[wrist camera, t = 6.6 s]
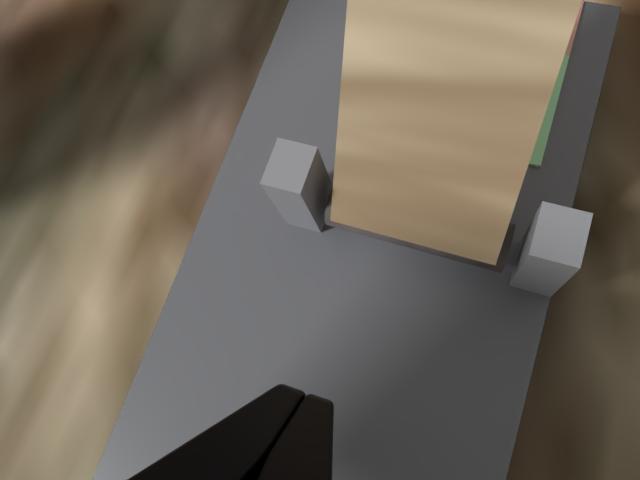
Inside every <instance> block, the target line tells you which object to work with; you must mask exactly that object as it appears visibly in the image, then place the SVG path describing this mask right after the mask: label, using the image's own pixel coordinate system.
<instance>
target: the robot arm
mask: <svg viewBox="0 0 640 480" xmlns="http://www.w3.org/2000/svg"><path fill="white" fill-rule="evenodd" d="M333 424H334V404H333V402H332V401H331V400H328V399H325V398H322V397H320V396H317V395H314V394H307V395H306V394H305V392H304V391H302V390H299V389H296V388H294V387H291V386H288V385H285V384H279V385H276V386H275V387H273V388H271V389H270V390H268V391H267V392H265V393H263V394H262V395H260V396H259V397H257V398H256V399H254V400H252V401H251V402H249V403H248V404H246V405H244V406H243V407H241V408H240V409H238V410H237V411H235V412H233V413H232V414H230V415H229V416H227V417H225V418H224V419H222V420H221V421H219V422H218V423H216V424H214V425H213V426H211V427H210V428H208V429H206V430H205V431H203V432H202V433H200V434H199V435H197V436H195V437H194V438H192V439H191V440H189V441H187V442H186V443H184V444H183V445H181V446H180V447H178V448H176V449H175V450H173V451H172V452H170V453H168V454H167V455H165V456H164V457H162V458H161V459H159V460H157V461H156V462H154V463H153V464H151V465H149V466H148V467H146V468H145V469H143V470H142V471H140V472H138V473H137V474H135V475H134V476H132V477H130V478H129V479H127V480H332V464H333Z"/></svg>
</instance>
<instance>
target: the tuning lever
mask: <svg viewBox="0 0 640 480" xmlns="http://www.w3.org/2000/svg"><path fill="white" fill-rule="evenodd" d="M581 3H582V0H347V11H346V23H345V36H344V49H343V62H342V75H341V88H340V101H339V114H338V126H337V139H336V152H335V165H334V178H333V186H332V188H331V191H330V193H329V196H328V200H327V204H326V209H325V224H326V225H329V226H332V227H336V228H340V229H343V230H347V231H351V232H354V233H358V234H361V235H365V236H369V237H372V238H376V239H379V240H383V241H387V242H390V243H394V244H398V245H401V246H405V247H408V248H412V249H416V250H419V251H423V252H427V253H430V254H434V255H437V256H441V257H445V258H448V259H452V260H456V261H459V262H463V263H466V264H470V265H474V266H477V267H481V268H484V269H488V270H492V271H495V272H499V273H502V271H503V269H504V266H505V263H506V260H507V257H508V254H509V250H510V247H511V243H512V240H513V236H514V231H515V226H516V224H513V223H510V220H511V217H512V214H513V210H514V207H515V204H516V201H517V198H518V195H519V192H520V189H521V186H522V183H523V180H524V177H525V174H526V171H527V168H528V165H529V162H530V159H531V156H532V152H533V149H534V146H535V143H536V140H537V137H538V134H539V131H540V128H541V125H542V122H543V119H544V116H545V113H546V110H547V107H548V104H549V101H550V98H551V94H552V91H553V88H554V85H555V82H556V79H557V76H558V73H559V70H560V67H561V64H562V61H563V58H564V55H565V52H566V49H567V46H568V43H569V40H570V36H571V33H572V30H573V27H574V24H575V21H576V18H577V15H578V12H579V9H580V6H581Z"/></svg>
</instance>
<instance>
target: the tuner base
mask: <svg viewBox="0 0 640 480" xmlns="http://www.w3.org/2000/svg"><path fill="white" fill-rule="evenodd" d="M620 10H621V7H618V6H611V5H605V4H598V3H592V2H585V1H584V0H582V3H581V6H580V9H579V12H578V15H577V18H576V21H575V24H574V27H573V30H572V33H571V36H570V40H569V43H568V46H567V49H566V52H565V55H564V58H563V61H562V64H561V67H560V70H559V73H558V76H557V79H556V82H555V85H554V88H553V91H552V94H551V98H550V101H549V104H548V107H547V110H546V113H545V116H544V119H543V122H542V125H541V128H540V131H539V134H538V137H537V140H536V143H535V146H534V149H533V152H532V156H531V159H530V162H529V165H528V168H527V171H526V174H525V177H524V180H523V183H522V186H521V189H520V192H519V195H518V198H517V201H516V204H515V207H514V210H513V214H512V217H511V220H510V223H513V224H516V226H515V231H514V236H513V240H512V243H511V247H510V250H509V254H508V257H507V260H506V263H505V266H504V269H503V271H502V273H499V272H495V271H492V270H488V269H484V268H481V267H477V266H474V265H470V264H466V263H463V262H459V261H456V260H452V259H448V258H445V257H441V256H437V255H434V254H430V253H427V252H423V251H419V250H416V249H412V248H408V247H405V246H401V245H398V244H394V243H390V242H387V241H383V240H379V239H376V238H372V237H369V236H365V235H361V234H358V233H354V232H351V231H347V230H343V229H340V228H336V227H332V226H329V225H326V224H325V209H326V204H327V200H328V196H329V193H330V191H331V188H332V186H333V178H334V165H335V152H336V139H337V126H338V114H339V101H340V88H341V75H342V62H343V49H344V36H345V23H346V11H347V0H289V2H288V4H287V7H286V9H285V11H284V14H283V16H282V19H281V21H280V24H279V26H278V28H277V31H276V33H275V36H274V38H273V41H272V43H271V46H270V48H269V50H268V53H267V55H266V58H265V60H264V63H263V65H262V68H261V70H260V72H259V75H258V77H257V80H256V82H255V85H254V87H253V89H252V92H251V94H250V97H249V99H248V102H247V104H246V107H245V109H244V111H243V114H242V116H241V119H240V121H239V124H238V126H237V128H236V131H235V133H234V136H233V138H232V141H231V143H230V146H229V148H228V150H227V153H226V155H225V158H224V160H223V163H222V165H221V168H220V170H219V172H218V175H217V177H216V180H215V182H214V185H213V187H212V189H211V192H210V194H209V197H208V199H207V202H206V204H205V207H204V209H203V211H202V214H201V216H200V219H199V221H198V224H197V226H196V229H195V231H194V233H193V236H192V238H191V241H190V243H189V246H188V248H187V250H186V253H185V255H184V258H183V260H182V263H181V265H180V268H179V270H178V272H177V275H176V277H175V280H174V282H173V285H172V287H171V290H170V292H169V294H168V297H167V299H166V302H165V304H164V307H163V309H162V311H161V314H160V316H159V319H158V321H157V324H156V326H155V329H154V331H153V333H152V336H151V338H150V341H149V343H148V346H147V348H146V350H145V353H144V355H143V358H142V360H141V363H140V365H139V368H138V370H137V372H136V375H135V377H134V380H133V382H132V385H131V387H130V390H129V392H128V394H127V397H126V399H125V402H124V404H123V407H122V409H121V411H120V414H119V416H118V419H117V421H116V424H115V426H114V429H113V431H112V433H111V436H110V438H109V441H108V443H107V446H106V448H105V451H104V453H103V455H102V458H101V460H100V463H99V465H98V468H97V470H96V472H95V475H94V477H93V480H127V479H129V478H130V477H132V476H134V475H135V474H137V473H138V472H140V471H142V470H143V469H145V468H146V467H148V466H149V465H151V464H153V463H154V462H156V461H157V460H159V459H161V458H162V457H164V456H165V455H167V454H168V453H170V452H172V451H173V450H175V449H176V448H178V447H180V446H181V445H183V444H184V443H186V442H187V441H189V440H191V439H192V438H194V437H195V436H197V435H199V434H200V433H202V432H203V431H205V430H206V429H208V428H210V427H211V426H213V425H214V424H216V423H218V422H219V421H221V420H222V419H224V418H225V417H227V416H229V415H230V414H232V413H233V412H235V411H237V410H238V409H240V408H241V407H243V406H244V405H246V404H248V403H249V402H251V401H252V400H254V399H256V398H257V397H259V396H260V395H262V394H263V393H265V392H267V391H268V390H270V389H271V388H273V387H275V386H276V385H279V384H285V385H288V386H291V387H294V388H296V389H299V390H302V391H304V392H305V394H306V395H307V394H314V395H317V396H320V397H322V398H325V399H328V400H331V401H332V402H333V404H334V424H333V464H332V480H506V478H507V474H508V470H509V466H510V462H511V457H512V453H513V449H514V445H515V441H516V437H517V433H518V429H519V425H520V420H521V416H522V412H523V408H524V404H525V400H526V396H527V392H528V388H529V384H530V379H531V375H532V371H533V367H534V363H535V359H536V355H537V351H538V347H539V342H540V338H541V334H542V330H543V326H544V322H545V318H546V314H547V310H548V306H549V301H550V297H551V296H552V295H553V294H554V293H555V292H557V291H558V290H559V289H560V288H561V287H562V286H563V285H564V284H565V283H566V282H567V281H568V280H569V279H570V278H571V277H572V276H573V275H574V274H575V273H576V272H577V271H578V270H579V269H580V268H581V264H582V260H583V256H584V252H585V247H586V243H587V239H588V234H589V230H590V226H591V222H592V217H593V213H590V212H586V211H582V210H577V209H573V208H572V207H573V203H574V199H575V195H576V191H577V187H578V182H579V178H580V174H581V170H582V166H583V162H584V158H585V154H586V150H587V145H588V141H589V137H590V133H591V129H592V125H593V121H594V117H595V113H596V109H597V104H598V100H599V96H600V92H601V88H602V84H603V80H604V76H605V72H606V67H607V63H608V59H609V55H610V51H611V47H612V43H613V39H614V35H615V31H616V26H617V22H618V18H619V14H620Z"/></svg>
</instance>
